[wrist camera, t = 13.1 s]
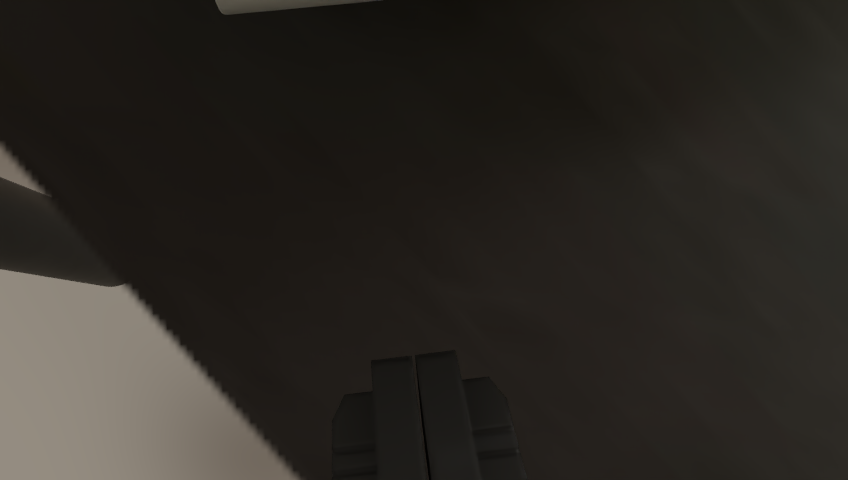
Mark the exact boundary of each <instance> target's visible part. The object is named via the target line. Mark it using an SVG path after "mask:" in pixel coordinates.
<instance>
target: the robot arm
mask: <svg viewBox="0 0 848 480" xmlns="http://www.w3.org/2000/svg"><path fill="white" fill-rule="evenodd" d="M415 360H416V369H417V379H418V389H419V399H420V409H421V418H422V427H423V435H424V444H425V452H426V460H427V468H428V475H429V480H527V476H526V473H525V469H524V465H523V461H522V457H521V453H520V452H519V445H518V441H517V438H516V434H515V431H514V427H513V422H512V418H511V414H510V410H509V406H508V403H507V399H506V397H505V396H504V395H503V394H502V392H501V391H500V390H499V389H498V388H497V386H496V385H495V384H494V383H493V381H492V380H491V379H490V378H489V377H483V378H474V379H466V380H461V375H460V370H459V364H458V359H457V355H456V351H455V350H452V351H444V352H436V353H428V354H419V355H415ZM371 368H372V386H373V391H371V392H363V393H355V394H347V395H344V397H343V399H342V401H341V403H340V405H339V408H338V410H337V412H336V414H335V416H334V418H333V420H332V450H333V454H332V474H333V477H332V480H427V477H426V468H425V460H424V452H423V444H422V436H421V428H420V420H419V411H418V403H417V395H416V387H415V379H414V371H413V363H412V356H405V357H396V358H388V359H380V360H372V361H371Z"/></svg>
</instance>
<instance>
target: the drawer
mask: <svg viewBox="0 0 848 480" xmlns="http://www.w3.org/2000/svg"><path fill="white" fill-rule="evenodd" d="M215 1H216V4H217V6H218V8H219V10H220V11H221V13H222V14H225V15H231V14H241V13H252V12H263V11H274V10H284V9H295V8H306V7H317V6H327V5H338V4H349V3H360V2H370V1H381V0H215Z"/></svg>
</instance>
